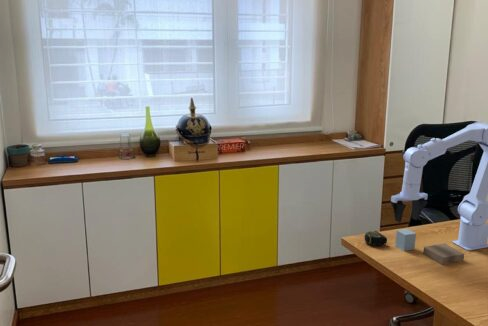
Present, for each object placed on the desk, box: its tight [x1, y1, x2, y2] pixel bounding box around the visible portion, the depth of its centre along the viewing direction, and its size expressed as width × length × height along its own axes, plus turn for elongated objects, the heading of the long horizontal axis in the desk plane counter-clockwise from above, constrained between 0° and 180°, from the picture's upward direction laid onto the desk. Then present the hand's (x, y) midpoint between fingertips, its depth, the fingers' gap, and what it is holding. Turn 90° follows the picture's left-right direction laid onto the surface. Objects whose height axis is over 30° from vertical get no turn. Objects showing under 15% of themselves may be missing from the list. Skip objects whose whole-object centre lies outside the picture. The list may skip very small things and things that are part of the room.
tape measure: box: [364, 230, 388, 247], centre depth 176 cm, size 7×7×4 cm
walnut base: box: [422, 243, 465, 266], centre depth 165 cm, size 9×9×3 cm
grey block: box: [395, 228, 417, 252], centre depth 173 cm, size 5×5×6 cm
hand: (406, 220), depth 170 cm, fingers open, 7 cm apart
